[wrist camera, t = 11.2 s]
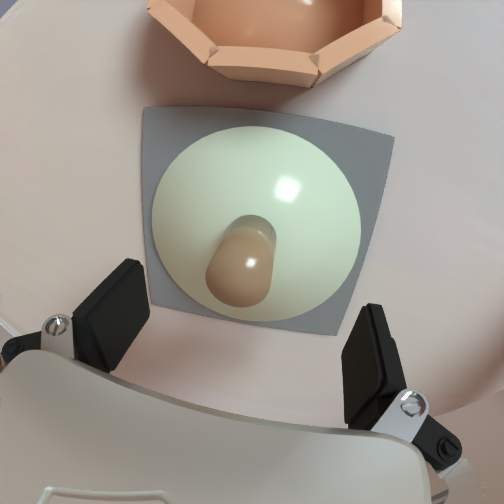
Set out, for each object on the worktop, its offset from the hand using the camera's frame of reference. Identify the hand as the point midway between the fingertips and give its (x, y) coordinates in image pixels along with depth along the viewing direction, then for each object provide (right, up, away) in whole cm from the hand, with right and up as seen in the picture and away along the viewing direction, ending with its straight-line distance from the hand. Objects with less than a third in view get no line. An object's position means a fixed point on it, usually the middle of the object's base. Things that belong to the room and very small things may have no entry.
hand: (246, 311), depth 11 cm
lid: (0, +4, +7) cm, 8 cm away
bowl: (+2, +18, 0) cm, 18 cm away
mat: (0, +4, +8) cm, 9 cm away
